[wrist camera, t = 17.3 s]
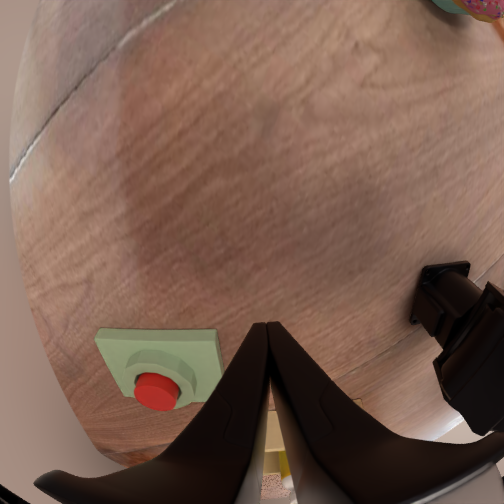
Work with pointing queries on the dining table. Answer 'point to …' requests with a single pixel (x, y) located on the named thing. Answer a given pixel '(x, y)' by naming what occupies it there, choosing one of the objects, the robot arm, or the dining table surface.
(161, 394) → the button
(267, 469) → the wooden planter box
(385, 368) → the dining table surface
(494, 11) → the cupcake
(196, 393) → the panel
